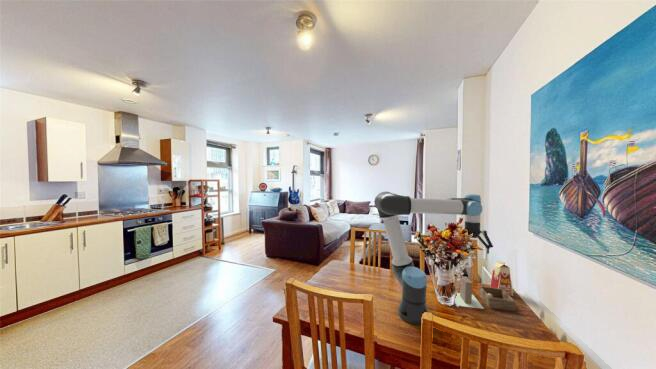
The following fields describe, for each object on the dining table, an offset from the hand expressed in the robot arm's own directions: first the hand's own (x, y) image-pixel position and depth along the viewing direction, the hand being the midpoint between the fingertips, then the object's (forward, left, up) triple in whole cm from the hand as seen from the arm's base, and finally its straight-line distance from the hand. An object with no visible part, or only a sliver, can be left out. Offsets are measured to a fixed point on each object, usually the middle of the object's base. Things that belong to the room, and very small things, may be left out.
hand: (471, 258), depth 130 cm
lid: (0, +3, -26) cm, 26 cm away
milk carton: (+17, -22, -26) cm, 38 cm away
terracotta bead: (+5, -11, -25) cm, 28 cm away
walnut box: (+2, -13, -26) cm, 29 cm away
